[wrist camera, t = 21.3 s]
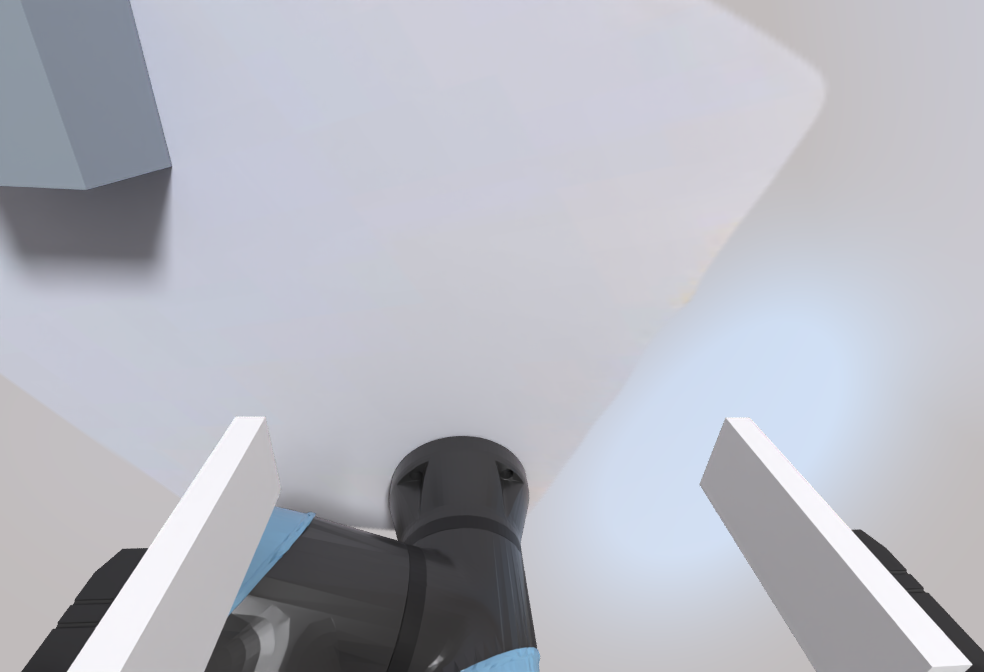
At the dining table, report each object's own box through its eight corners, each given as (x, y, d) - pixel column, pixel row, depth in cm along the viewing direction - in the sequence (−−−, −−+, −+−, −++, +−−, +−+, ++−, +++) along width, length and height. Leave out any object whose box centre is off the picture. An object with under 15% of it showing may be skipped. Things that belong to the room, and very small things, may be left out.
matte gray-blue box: (172, 166, 33) (87, 189, 25) (18, 158, 32) (-119, 180, 24) (127, -7, 28) (5, -42, 21) (-55, -23, 27) (-255, -66, 20)
